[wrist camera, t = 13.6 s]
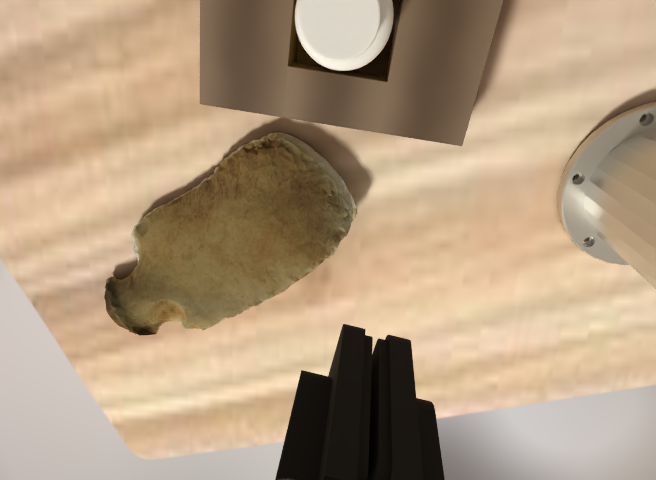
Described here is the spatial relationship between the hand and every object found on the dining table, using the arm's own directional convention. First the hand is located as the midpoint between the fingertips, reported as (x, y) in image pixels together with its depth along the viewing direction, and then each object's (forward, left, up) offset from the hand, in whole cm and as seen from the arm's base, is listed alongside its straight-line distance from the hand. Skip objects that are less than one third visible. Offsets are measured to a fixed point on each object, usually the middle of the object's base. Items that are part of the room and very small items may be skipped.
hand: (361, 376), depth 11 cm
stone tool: (+11, +11, -25) cm, 30 cm away
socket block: (+3, -8, -25) cm, 26 cm away
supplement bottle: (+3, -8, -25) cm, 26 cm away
